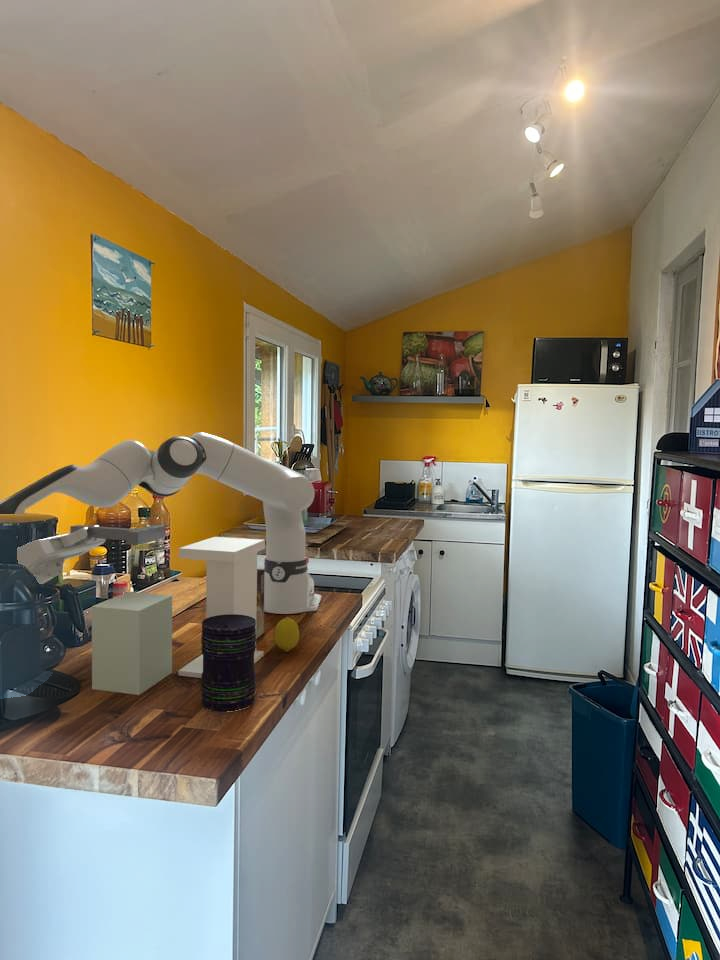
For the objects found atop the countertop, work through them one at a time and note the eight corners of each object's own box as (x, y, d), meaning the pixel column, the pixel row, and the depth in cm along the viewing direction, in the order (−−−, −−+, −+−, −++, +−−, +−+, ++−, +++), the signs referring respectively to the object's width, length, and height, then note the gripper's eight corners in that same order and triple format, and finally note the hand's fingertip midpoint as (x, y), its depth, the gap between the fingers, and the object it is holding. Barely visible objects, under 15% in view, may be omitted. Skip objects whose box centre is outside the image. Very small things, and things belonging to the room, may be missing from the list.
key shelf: (213, 650, 147) (214, 536, 145) (263, 655, 144) (265, 539, 142) (178, 675, 131) (179, 548, 129) (233, 681, 128) (234, 552, 127)
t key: (89, 532, 133) (89, 520, 133) (165, 537, 130) (165, 525, 130) (56, 539, 124) (56, 526, 123) (138, 545, 120) (138, 532, 120)
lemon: (279, 657, 143) (280, 621, 143) (270, 649, 148) (271, 615, 148) (302, 653, 146) (303, 618, 145) (293, 646, 151) (294, 612, 150)
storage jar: (208, 689, 124) (209, 613, 123) (259, 691, 124) (260, 614, 123) (193, 712, 114) (194, 628, 113) (249, 714, 114) (250, 630, 113)
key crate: (128, 667, 135) (128, 591, 134) (172, 672, 132) (172, 595, 131) (92, 689, 123) (91, 606, 122) (139, 695, 121) (139, 610, 120)
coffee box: (240, 630, 162) (240, 567, 161) (264, 632, 160) (265, 568, 159) (225, 642, 153) (226, 574, 152) (251, 644, 152) (251, 576, 150)
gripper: (79, 564, 141) (129, 536, 137) (9, 584, 121) (65, 552, 118) (67, 538, 141) (116, 510, 138) (-6, 554, 121) (50, 521, 118)
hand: (92, 529), depth 128 cm, fingers closed on t key, 2 cm apart
